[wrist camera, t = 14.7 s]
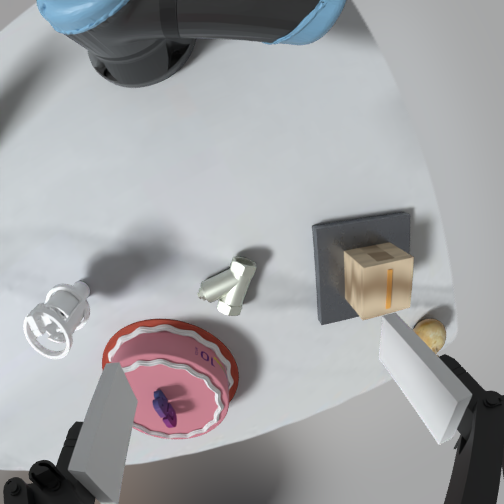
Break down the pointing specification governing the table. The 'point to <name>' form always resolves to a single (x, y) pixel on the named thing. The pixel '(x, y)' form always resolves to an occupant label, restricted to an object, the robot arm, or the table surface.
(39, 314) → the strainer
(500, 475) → the robot arm
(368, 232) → the grey piece
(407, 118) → the table surface
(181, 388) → the cake
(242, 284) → the pipe fitting
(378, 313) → the taped cardboard box
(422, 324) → the onion
